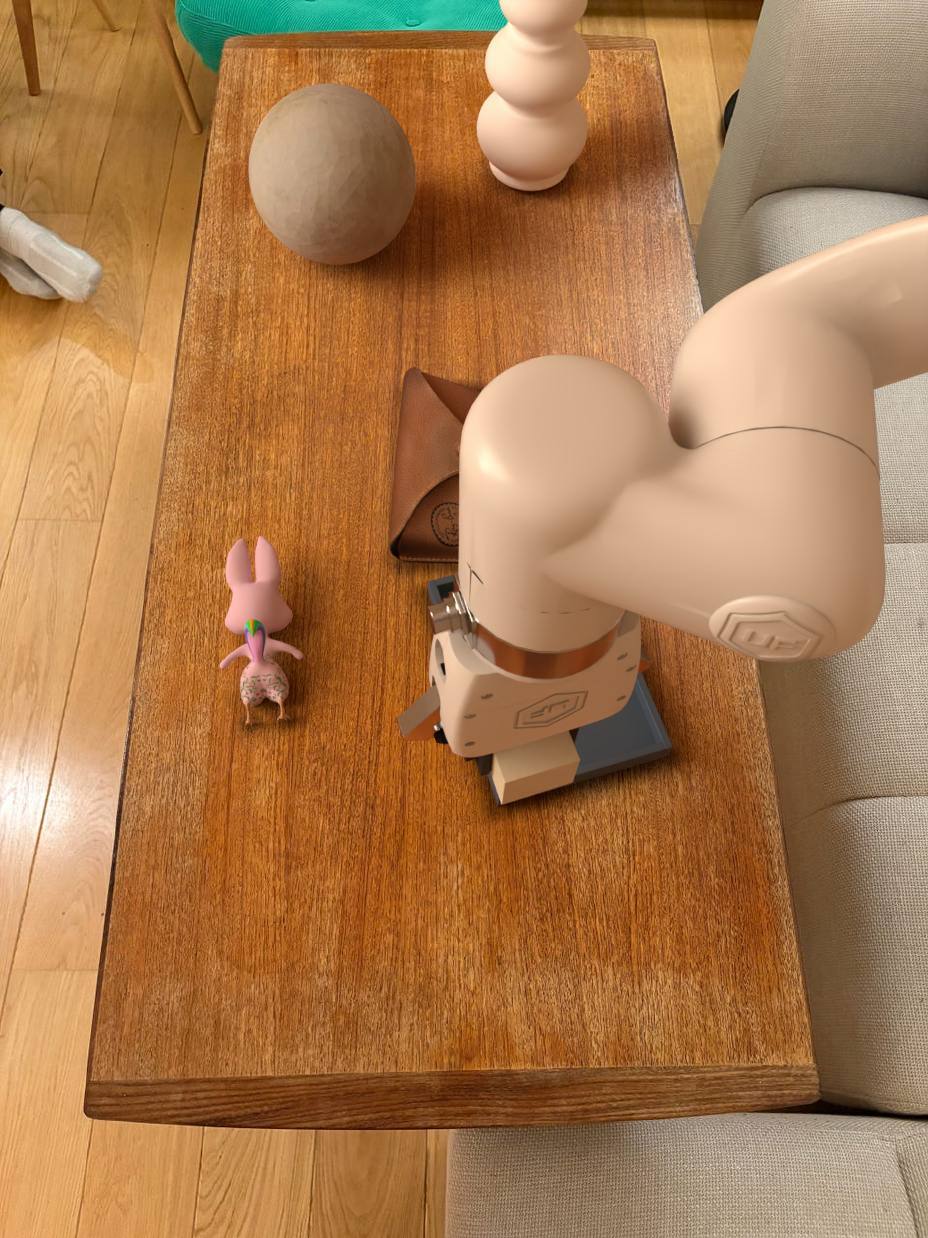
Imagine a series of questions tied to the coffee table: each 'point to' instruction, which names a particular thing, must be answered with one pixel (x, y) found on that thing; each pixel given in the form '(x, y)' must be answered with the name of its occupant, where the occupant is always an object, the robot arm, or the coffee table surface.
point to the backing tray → (603, 726)
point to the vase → (535, 94)
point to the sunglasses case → (428, 469)
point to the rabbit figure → (258, 623)
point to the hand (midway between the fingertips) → (518, 738)
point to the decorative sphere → (332, 174)
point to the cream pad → (534, 767)
